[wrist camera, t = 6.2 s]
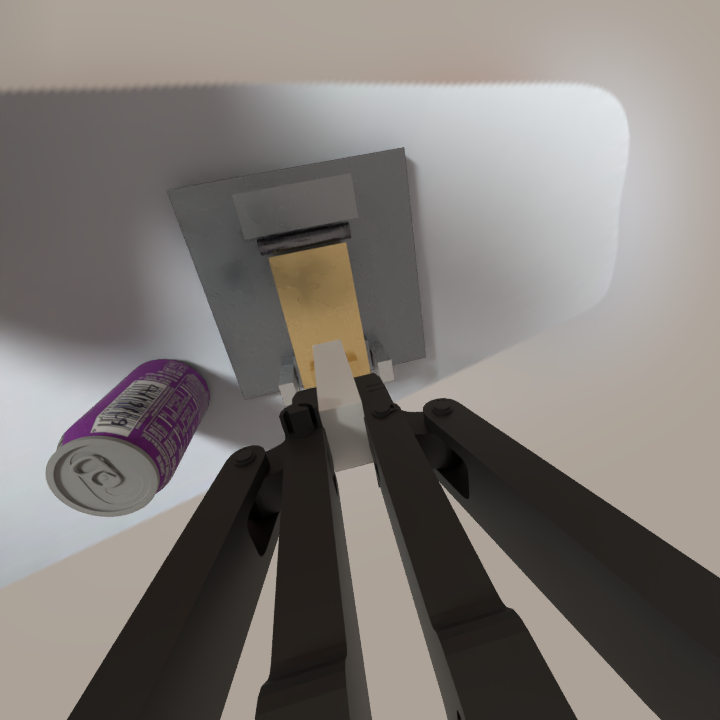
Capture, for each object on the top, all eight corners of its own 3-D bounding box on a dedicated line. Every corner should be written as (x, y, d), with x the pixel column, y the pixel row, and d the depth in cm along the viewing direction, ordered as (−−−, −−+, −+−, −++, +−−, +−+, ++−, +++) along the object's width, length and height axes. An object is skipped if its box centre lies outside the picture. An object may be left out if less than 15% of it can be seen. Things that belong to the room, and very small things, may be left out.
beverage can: (112, 383, 30) (6, 474, 20) (173, 341, 30) (100, 411, 19) (170, 434, 33) (106, 538, 22) (227, 397, 33) (190, 485, 22)
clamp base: (246, 392, 33) (237, 422, 28) (173, 191, 26) (142, 184, 21) (420, 351, 34) (441, 374, 29) (398, 150, 27) (421, 135, 22)
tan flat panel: (298, 385, 30) (298, 396, 28) (258, 239, 25) (253, 239, 23) (373, 368, 30) (379, 377, 28) (347, 222, 26) (350, 220, 24)
